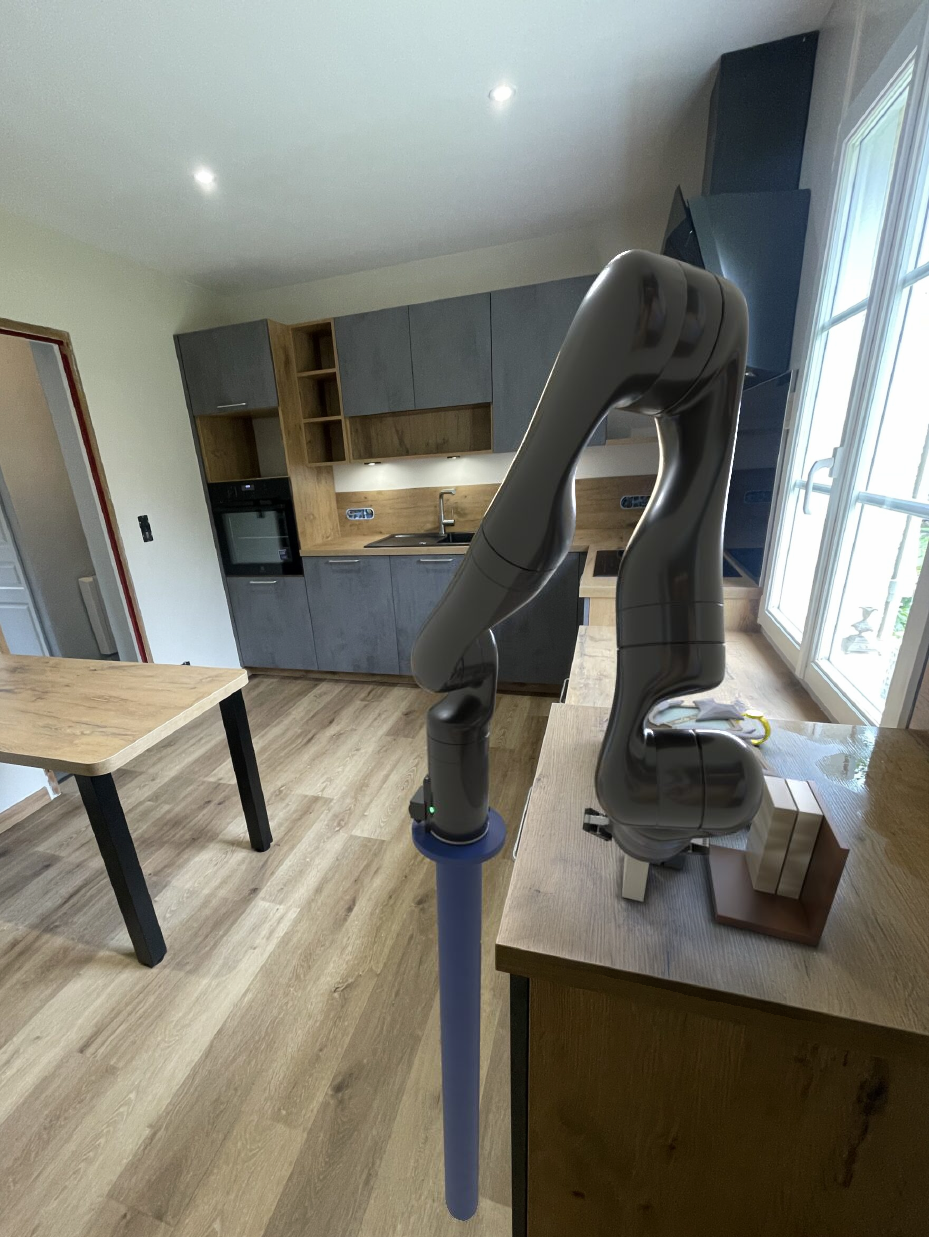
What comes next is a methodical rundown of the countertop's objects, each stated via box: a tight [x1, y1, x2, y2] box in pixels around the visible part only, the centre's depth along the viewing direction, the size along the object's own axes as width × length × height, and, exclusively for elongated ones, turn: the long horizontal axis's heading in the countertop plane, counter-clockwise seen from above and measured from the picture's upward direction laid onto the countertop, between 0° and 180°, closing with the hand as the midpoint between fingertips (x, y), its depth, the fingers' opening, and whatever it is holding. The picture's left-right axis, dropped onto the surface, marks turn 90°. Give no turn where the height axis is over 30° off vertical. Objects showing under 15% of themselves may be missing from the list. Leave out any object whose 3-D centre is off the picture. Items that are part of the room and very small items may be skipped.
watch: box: [736, 709, 772, 746], centre depth 99 cm, size 6×3×6 cm, turn 32°
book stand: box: [705, 776, 851, 948], centre depth 63 cm, size 10×13×13 cm
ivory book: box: [621, 852, 650, 903], centre depth 66 cm, size 2×7×12 cm, turn 159°
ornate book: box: [645, 697, 786, 824], centre depth 89 cm, size 23×10×30 cm
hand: (638, 841), depth 67 cm, fingers closed on ivory book, 2 cm apart
